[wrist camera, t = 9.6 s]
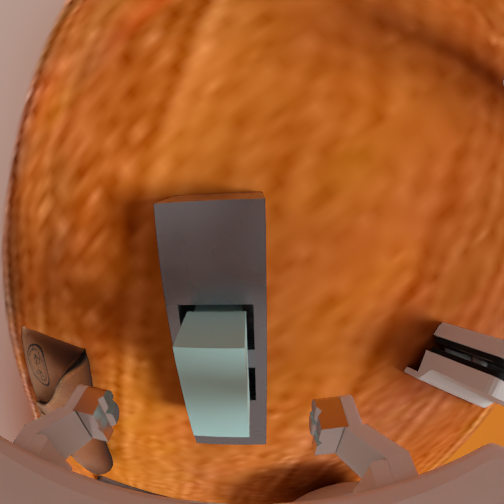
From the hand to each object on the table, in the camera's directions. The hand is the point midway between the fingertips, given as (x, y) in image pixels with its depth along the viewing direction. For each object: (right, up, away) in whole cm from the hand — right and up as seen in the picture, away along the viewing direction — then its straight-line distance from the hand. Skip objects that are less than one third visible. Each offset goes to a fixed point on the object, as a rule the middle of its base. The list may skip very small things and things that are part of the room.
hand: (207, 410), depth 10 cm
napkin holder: (+23, -4, +10) cm, 25 cm away
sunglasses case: (-16, -9, +12) cm, 22 cm away
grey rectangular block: (0, +2, +8) cm, 8 cm away
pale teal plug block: (0, +1, +7) cm, 7 cm away
